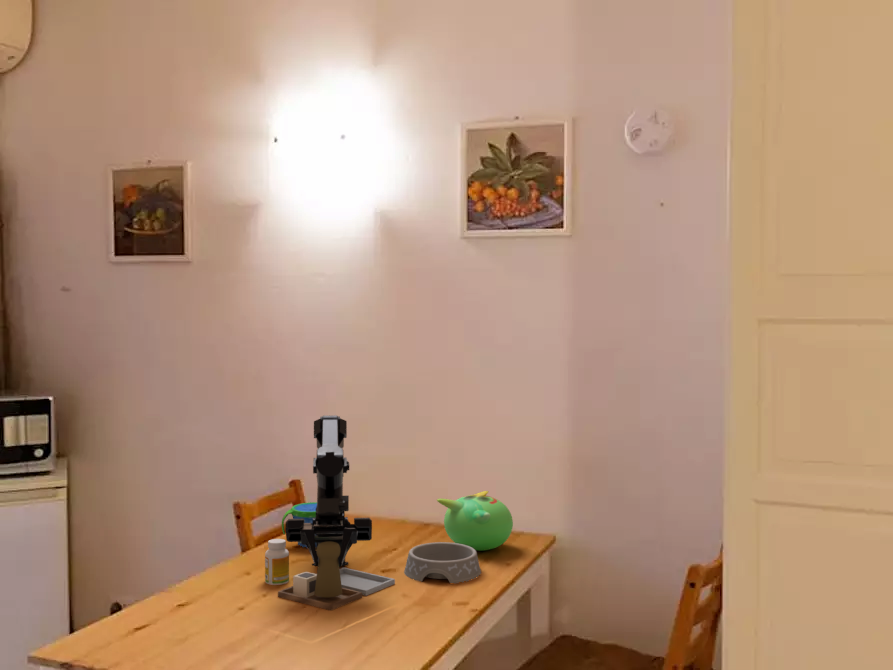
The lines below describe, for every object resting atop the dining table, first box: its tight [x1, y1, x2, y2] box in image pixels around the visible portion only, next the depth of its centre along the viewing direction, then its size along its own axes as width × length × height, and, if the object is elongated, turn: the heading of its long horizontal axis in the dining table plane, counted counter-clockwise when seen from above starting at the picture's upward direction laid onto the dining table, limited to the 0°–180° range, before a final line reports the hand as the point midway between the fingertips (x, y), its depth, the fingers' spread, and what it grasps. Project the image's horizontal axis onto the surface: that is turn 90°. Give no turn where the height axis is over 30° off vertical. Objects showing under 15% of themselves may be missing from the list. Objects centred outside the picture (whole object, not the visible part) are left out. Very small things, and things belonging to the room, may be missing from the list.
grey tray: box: [339, 566, 396, 597], centre depth 219 cm, size 15×10×2 cm
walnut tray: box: [277, 585, 363, 612], centre depth 209 cm, size 15×10×2 cm
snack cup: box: [281, 501, 317, 549], centre depth 252 cm, size 16×10×10 cm
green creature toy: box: [436, 490, 514, 552], centre depth 249 cm, size 18×17×15 cm
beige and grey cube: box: [292, 571, 317, 598], centre depth 212 cm, size 4×4×4 cm
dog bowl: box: [403, 541, 482, 584], centre depth 229 cm, size 17×18×5 cm
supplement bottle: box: [264, 538, 290, 586], centre depth 220 cm, size 5×5×10 cm
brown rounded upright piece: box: [315, 541, 342, 597], centre depth 208 cm, size 6×6×11 cm
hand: (328, 564), depth 206 cm, fingers closed on brown rounded upright piece, 5 cm apart
